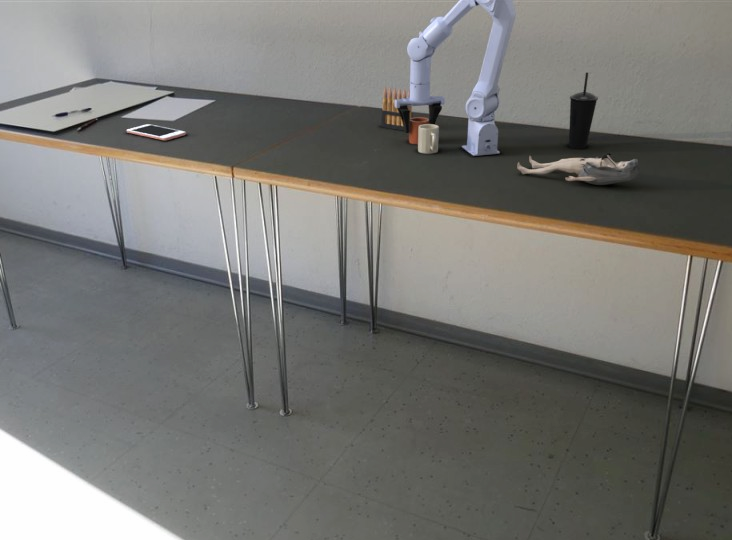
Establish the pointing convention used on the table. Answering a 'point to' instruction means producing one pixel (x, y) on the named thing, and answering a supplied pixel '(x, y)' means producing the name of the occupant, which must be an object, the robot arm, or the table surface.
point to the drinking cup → (581, 117)
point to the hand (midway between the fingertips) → (418, 131)
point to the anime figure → (589, 169)
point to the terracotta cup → (415, 128)
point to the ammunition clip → (393, 110)
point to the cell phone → (156, 132)
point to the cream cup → (428, 138)
